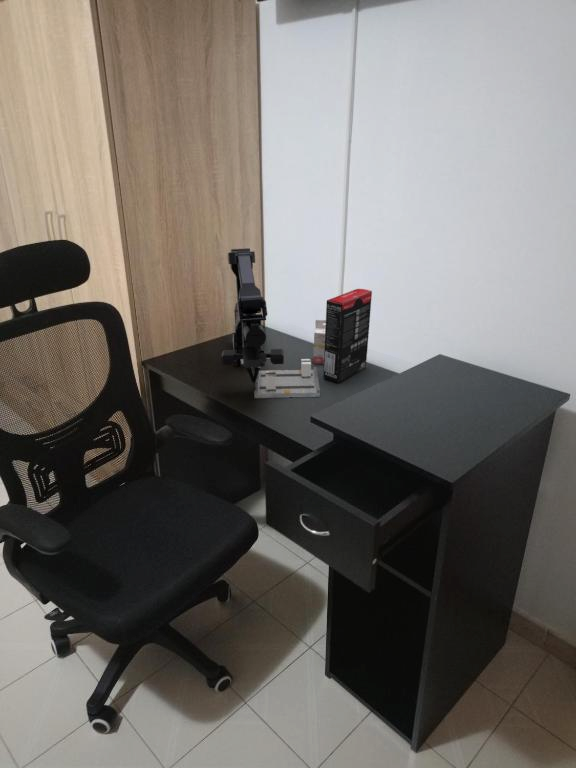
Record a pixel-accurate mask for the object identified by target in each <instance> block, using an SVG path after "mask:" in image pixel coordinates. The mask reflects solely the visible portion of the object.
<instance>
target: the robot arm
mask: <svg viewBox="0 0 576 768" xmlns="http://www.w3.org/2000/svg"><path fill="white" fill-rule="evenodd" d="M227 262H228V263H227V264H228V265H229V266H230V269H231V271H232V272H233V273H232V274H234V275H235V284H236V285H235V286H236V287H235V288H236V299H237V300H236V303H237V307H238V321H237V323H236V324H235V323H234V326H233V327H234V332H232V346H233V349H224V350H223V351H222V353H221V358H220V359H221V361H220V362H221V365H222V366H233V364H234V363H235V361H236V367H241V368H245V369H246V371H247V373H248V375H249V378H250V380H251V382H252V383H253V384H255V382H256V378H257V375H258V372H259V371H261V368H263V367H265V366H266V363H267V360H270V363H271V364H272V365H284V364H285V363H284V361H285V359H284V357H285V355H284V353H285V352H284V350H283V348H270V352H267V350H266V349H263V345H264V344H265V342H266V339H267V335H266V332H265V330H264V328H263V325H262V321H267V317H268V308H267V302H266V300H265V297H264V296H262V293H261V290H260V288H259V287H258V286H257V285H256V283H255V276H254V271H253V270H254V267H253V266H254V265H253V264H255V263H256V253H255V250H254V251H252V250H251V248H250V247H249V248H246V247H245V248H231V249H230V252H227ZM253 368H254V369H253Z"/></svg>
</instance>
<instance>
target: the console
mask: <svg viewBox="0 0 576 768" xmlns="http://www.w3.org/2000/svg"><path fill="white" fill-rule="evenodd" d="M312 368H313V369H311V376H303V377H302V374H301V369H291V370H290V369H285V370H284V369H283V370H281V369H276V370H275V369H273V370H272V369H271V370H270V369H269V371H275V372H276V389H267V390H266V371H267V370H259V372H258V375H257V378H256V382H255V383H254V390H253V391H254V392H253V393H254V399H276V398H277V399H279V398H282V399H283V398H284V399H285V398H288V399H289V397H293V398H321V397H320V395H321V388H320V382H319V376H318V375H319V374H318V368H317V366H313V367H312Z"/></svg>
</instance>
